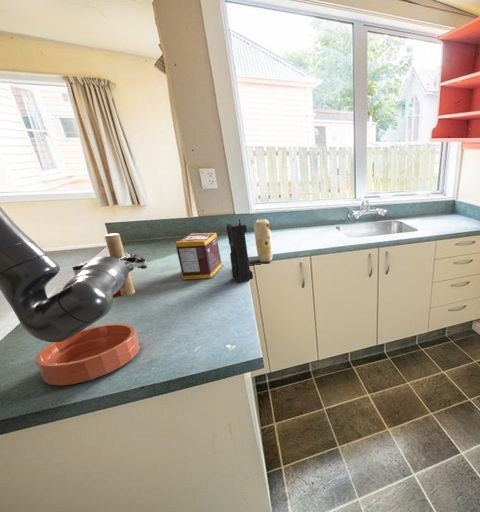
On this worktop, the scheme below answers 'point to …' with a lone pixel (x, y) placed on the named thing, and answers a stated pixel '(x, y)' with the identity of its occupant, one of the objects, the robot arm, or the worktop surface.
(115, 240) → the stirring stick
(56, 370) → the bowl
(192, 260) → the supplement box
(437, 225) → the worktop surface
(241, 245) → the portable radio
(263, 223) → the food model
